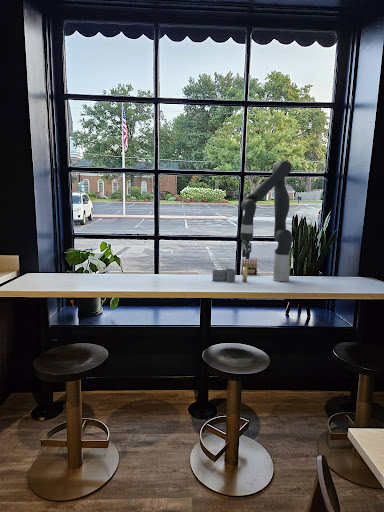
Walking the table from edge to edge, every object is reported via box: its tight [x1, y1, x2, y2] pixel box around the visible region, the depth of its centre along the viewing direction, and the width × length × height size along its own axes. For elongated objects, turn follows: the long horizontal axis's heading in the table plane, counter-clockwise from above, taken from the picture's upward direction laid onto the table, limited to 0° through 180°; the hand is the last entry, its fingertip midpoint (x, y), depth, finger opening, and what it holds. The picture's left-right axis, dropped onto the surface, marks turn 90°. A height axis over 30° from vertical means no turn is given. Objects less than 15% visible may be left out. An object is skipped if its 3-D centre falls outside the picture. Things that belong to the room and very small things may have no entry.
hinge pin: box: [241, 267, 248, 283], centre depth 219 cm, size 3×3×9 cm
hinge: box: [212, 266, 236, 283], centre depth 224 cm, size 14×14×7 cm
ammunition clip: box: [240, 257, 258, 276], centre depth 241 cm, size 11×2×12 cm, turn 89°
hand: (245, 258), depth 217 cm, fingers open, 8 cm apart
